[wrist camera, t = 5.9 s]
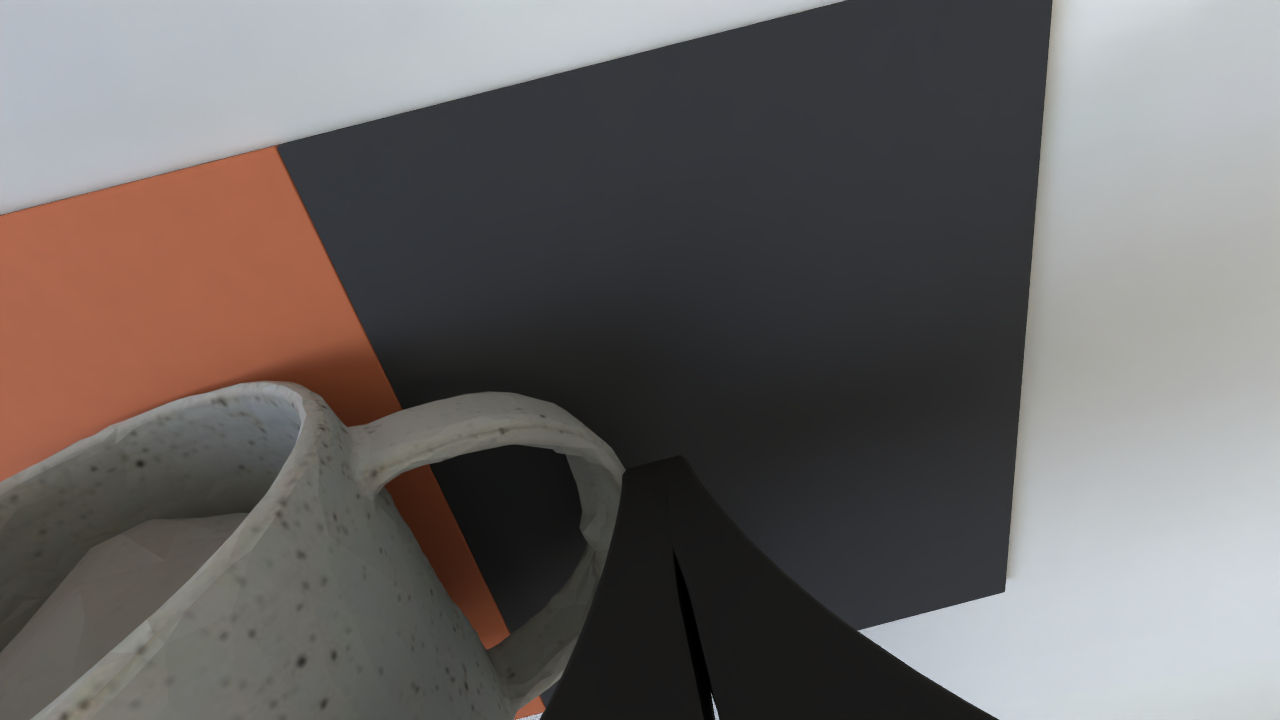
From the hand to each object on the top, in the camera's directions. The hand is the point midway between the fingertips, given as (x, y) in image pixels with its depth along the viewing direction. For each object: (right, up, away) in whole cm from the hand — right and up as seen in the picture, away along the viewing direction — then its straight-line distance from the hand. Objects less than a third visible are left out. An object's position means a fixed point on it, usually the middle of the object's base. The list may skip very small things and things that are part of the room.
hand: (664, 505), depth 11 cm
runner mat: (-4, 0, +2) cm, 5 cm away
